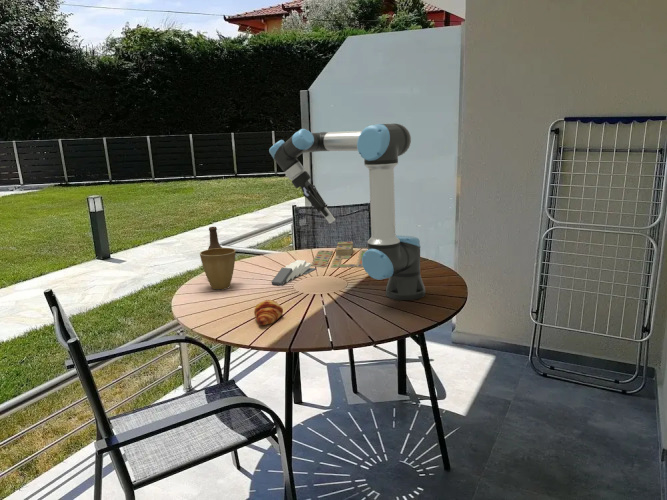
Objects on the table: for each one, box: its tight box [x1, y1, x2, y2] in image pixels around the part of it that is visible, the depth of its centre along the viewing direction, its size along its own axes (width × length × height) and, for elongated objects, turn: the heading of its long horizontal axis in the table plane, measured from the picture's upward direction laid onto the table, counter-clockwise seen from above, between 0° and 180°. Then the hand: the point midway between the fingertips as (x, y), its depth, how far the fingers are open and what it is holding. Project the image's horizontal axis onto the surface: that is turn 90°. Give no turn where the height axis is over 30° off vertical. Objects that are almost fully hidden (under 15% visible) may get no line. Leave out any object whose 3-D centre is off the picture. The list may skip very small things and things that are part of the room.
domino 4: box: [294, 259, 308, 278], centre depth 236 cm, size 2×5×10 cm
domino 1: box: [270, 267, 293, 286], centre depth 225 cm, size 2×5×10 cm
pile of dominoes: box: [311, 241, 368, 269], centre depth 261 cm, size 35×27×6 cm
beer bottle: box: [207, 226, 223, 250], centre depth 233 cm, size 8×8×24 cm
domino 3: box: [289, 261, 302, 281], centre depth 232 cm, size 2×5×10 cm
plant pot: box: [199, 247, 237, 290], centre depth 220 cm, size 15×15×16 cm
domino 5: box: [298, 262, 312, 276], centre depth 239 cm, size 2×5×10 cm
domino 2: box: [284, 264, 297, 284], centre depth 228 cm, size 2×5×10 cm
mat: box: [302, 267, 317, 275], centre depth 241 cm, size 9×8×1 cm
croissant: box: [253, 299, 284, 326], centre depth 183 cm, size 21×10×8 cm, turn 177°
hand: (332, 221), depth 213 cm, fingers closed
